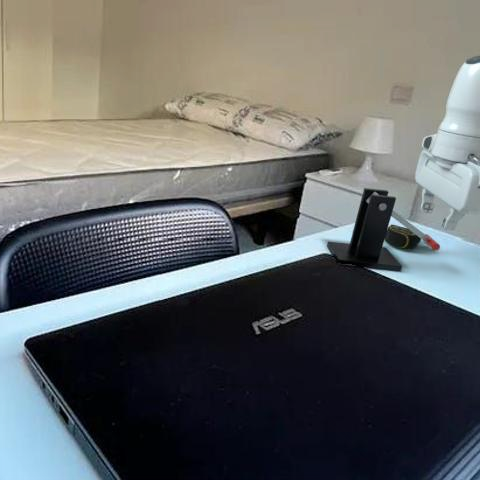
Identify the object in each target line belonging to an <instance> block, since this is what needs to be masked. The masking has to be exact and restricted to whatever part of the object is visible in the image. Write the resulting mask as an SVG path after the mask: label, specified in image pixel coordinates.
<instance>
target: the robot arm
mask: <svg viewBox="0 0 480 480" xmlns="http://www.w3.org/2000/svg"><path fill="white" fill-rule="evenodd" d="M446 100H447V101H446V102H445V103H446V104H445V114H444V118H443V120H442V121H441V123H440V124H439V125H438V129H437V132H436V133H434V134H430V135H427V136H425V137H423V139H422V142H421V147H422V148H423V149H422V151H421V152H420V155H419V158H418V162H417V165H416V169H415V175H414V177H415V183H417V184H418V185H419V186H421V187H423V188H422V191H421V201H422V202H421V205H420V210H421V211H422V212H423V213H425V214H432V213H433V210H434V208H435V204H434V199H435V197H437V198H438V199H440V200H441V201H443V202H444V203H445V204H447V205H448V206H450V207H449V214H448V215H447V217H443V220H442V223H441V227H442V228H443V229H444V230H446V231H450V232H452V231H455V230H456V227H457V224H458V222H459V221H460V220H461V219H462V218H463V217H465V215H466V214H469V215H478V214H480V55H475V56H472V57H470V58H468V59H466V60H465V61H464V63H462V65H461V66H460V68H459V70H458V72H457V74H456V76H455V78H454V81H453V83H452V85H451V89H450V91H449V94H448V98H447V99H446Z"/></svg>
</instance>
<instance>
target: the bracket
mask: <svg viewBox="0 0 480 480" xmlns="http://www.w3.org/2000/svg"><path fill="white" fill-rule="evenodd" d="M374 192H376V193H378V194H379V195H372V194H373V193H374ZM369 197H370V200H369V203H367V202H366V200H367V199H368V198H369ZM396 201H397V198H396V196H392V195H389V190H387V189H377V188H368V187H364V188H363V191H362V195H361V198H360V203H359V206H358V211H357V214H356V219H355V223H354V226H353V230H352V234H351V238H350V242H349V243H348V242H347V243H346V242H339V241H337V242H336V241H327V243H326V247H327V250H328V251H329V253H330V254H331V256H332V255H333V256H332V258H333V257H334V258H335V259H336V261H337V262H338V263H341V264H352V265H356V266H360V267H359V268H361V267H366V268H365V269H371V270H381V271H388V272H389V271H391V272H400V273H401V272H402V269H403V265H402V263H400V262H399V261H398V259H397V258H396V257H395V256H394V255H393V254H392V253H391V251H390V250H389V248H387V247H384V246H383V245H384V242H385V236H386V232H387V229H388V227H389V225H390V221H391V218H392V216H391V215H392V211H394V208H395V205H396V204H395V203H396ZM334 258H333V259H334ZM335 259H334V260H335ZM336 261H335V262H336Z"/></svg>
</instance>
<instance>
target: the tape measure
mask: <svg viewBox="0 0 480 480" xmlns="http://www.w3.org/2000/svg"><path fill="white" fill-rule="evenodd" d="M389 225H390V226H388V229H387V232H386V236H385V239H384V242H386V243H387V244H388V245H390V246H393V247H394V248H397V249H399V250H400V249H401V250H413V249H416V248H417V247H418V245H419V244H420V243H421V240H422V239H421V238H420V237H418V236H417V235H416V234H414V233H413V232H412V231H410V230H409V229H408V228H406V227H405V226H400V225H396V224H389Z"/></svg>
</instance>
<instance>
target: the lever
mask: <svg viewBox="0 0 480 480" xmlns="http://www.w3.org/2000/svg"><path fill="white" fill-rule="evenodd" d="M372 195H379V194H378V193H376V192H374V193H373V194H372ZM369 200H370V197H369V198H368V199H367V200H366V202H367V203H369ZM391 218H393V219H395V220H396V221H397V222H398V223H400V225H402V226H403V227H404V228H408V229H409V230H410V231H412V232H413V233H414V234H416V235H417V236H418V237H420V238H421V240H422V241H423V242H424V243H425V244H426V245H427V246H428V247H429V248H431V249H432V250H433V251H434V252H435V251H439V250H440V249H441V245H440V243H438V242H437V241H436V240H435V239H434V238H432V236H430V235H429V234H427V233H424V232H423V231H421V230H420V229H419V228H418V227H416V226H414V224H412V223H411V222H409V221H408V220H407V219H405V218H404V217H403V216H402V215H400V214H399V213H398V212H396V211H395V210H393V211H392V215H391Z"/></svg>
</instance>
